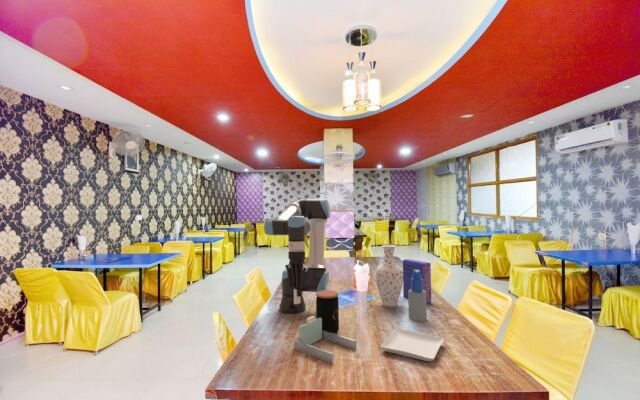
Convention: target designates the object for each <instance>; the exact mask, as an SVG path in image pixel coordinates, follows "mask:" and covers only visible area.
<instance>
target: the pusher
mask: <svg viewBox="0 0 640 400" xmlns="http://www.w3.org/2000/svg"><path fill="white" fill-rule="evenodd" d="M298 329H299V331H298V332H299V333H298V334H299V340H300V341H301V342H304V343H307V344H309V345H312V344H314V343H316V342H317V341H320V340H323V339H322V318H318V319H316V315H312V316H309V317H306V323H304V324H301V325H299V327H298Z"/></svg>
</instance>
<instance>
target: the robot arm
mask: <svg viewBox="0 0 640 400" xmlns="http://www.w3.org/2000/svg"><path fill="white" fill-rule="evenodd" d="M330 209H331V208H330V203H329V200H328V198H327V199H326V198H320V197H318V198H317V197H316V198H300V199H296V200H294V201H292V202H291V203H289V204H288V205H287V206H286V207H285V209H284V210H283V211H282V212H281V213H280V214H278V215H277V216H276V217H275V218H274V219H266V220H265V221H264V224H263V230H264V233H265V235H267V236H271V237H272V236H287V238H288V239H287V240H288V246H287V247H288V250H289V251H288V254H287V255H288V260H289V262H288V264H285V270H283V271H282V273H281V299H280V303H279V306H278V309H279V311H280V312H281V313H284V314H297V313H302V312H304V311H305V310H306V307H307V306H306V302H305V299H304V296H303V292H307V293H317V292H318V291H322V290H327V287H328V284H329V281H330V279H329V278H330V273H329V271H328V270H327V267H326V266H325V265H324V263H325V262H324V261H325V260H324V259H325V256H324V255H325V254H324V252H325V224H326V223H327V222H328V219H329V218H331V210H330ZM306 235H309V241H308V243H309V247H308V249H309V250H308V264H307V265H306V263H305V259H306V251H305V250H306Z"/></svg>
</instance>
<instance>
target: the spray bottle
mask: <svg viewBox="0 0 640 400" xmlns="http://www.w3.org/2000/svg"><path fill="white" fill-rule="evenodd" d="M407 299H408V300H407V301H408V320H410V321H412V322H418V323H420V322H421V323H423V322H427V320H428V319H427V314H428V312H427V304H426V291H425V290H423V279H422V278H421V274H420V270H413V275H412V278H411V289H409V292H408V298H407Z"/></svg>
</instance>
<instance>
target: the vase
mask: <svg viewBox="0 0 640 400" xmlns="http://www.w3.org/2000/svg"><path fill="white" fill-rule="evenodd" d="M380 247H381V248H382V249H383V253H384V258H383V262H382V263H381V264H380V265H378V266H377V268H376V269H375V281H376V288H377V290H378V295H379V297H380V299H381V302H382V306H383V307H386V308H396V307H398V302H399V299H400V295H401V292H402V290H403V268H402V267H401V266H400V265H398V264H396V262H395V259H394V252H395V248H396V247H397V245H394V244H392V245H391V244H384V245H381V246H380Z"/></svg>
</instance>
